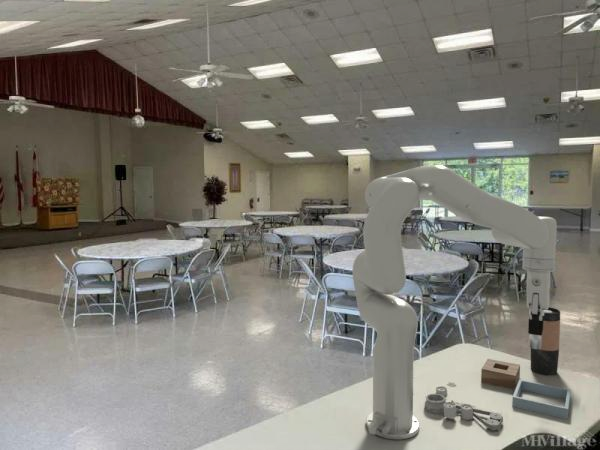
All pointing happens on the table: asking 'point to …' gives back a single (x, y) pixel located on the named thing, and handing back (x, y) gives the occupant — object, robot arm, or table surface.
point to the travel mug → (547, 345)
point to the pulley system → (440, 407)
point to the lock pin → (535, 338)
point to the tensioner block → (500, 373)
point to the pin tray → (540, 406)
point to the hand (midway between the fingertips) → (535, 331)
